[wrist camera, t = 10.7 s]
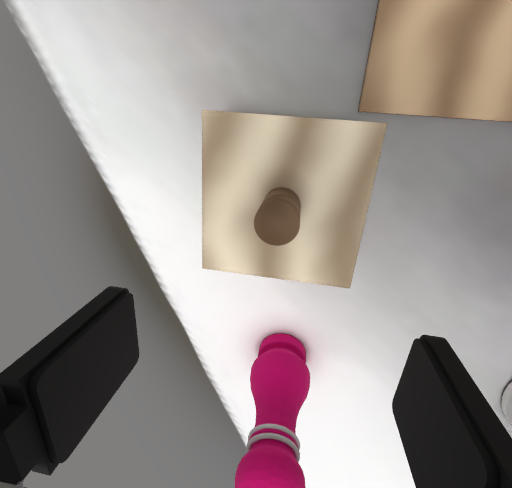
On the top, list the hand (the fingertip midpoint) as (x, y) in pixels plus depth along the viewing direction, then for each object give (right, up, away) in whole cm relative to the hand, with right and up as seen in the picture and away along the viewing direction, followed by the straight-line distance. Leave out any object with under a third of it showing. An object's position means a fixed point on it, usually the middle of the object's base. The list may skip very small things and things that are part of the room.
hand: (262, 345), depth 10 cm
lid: (+2, +7, +16) cm, 17 cm away
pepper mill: (+3, -11, +30) cm, 32 cm away
